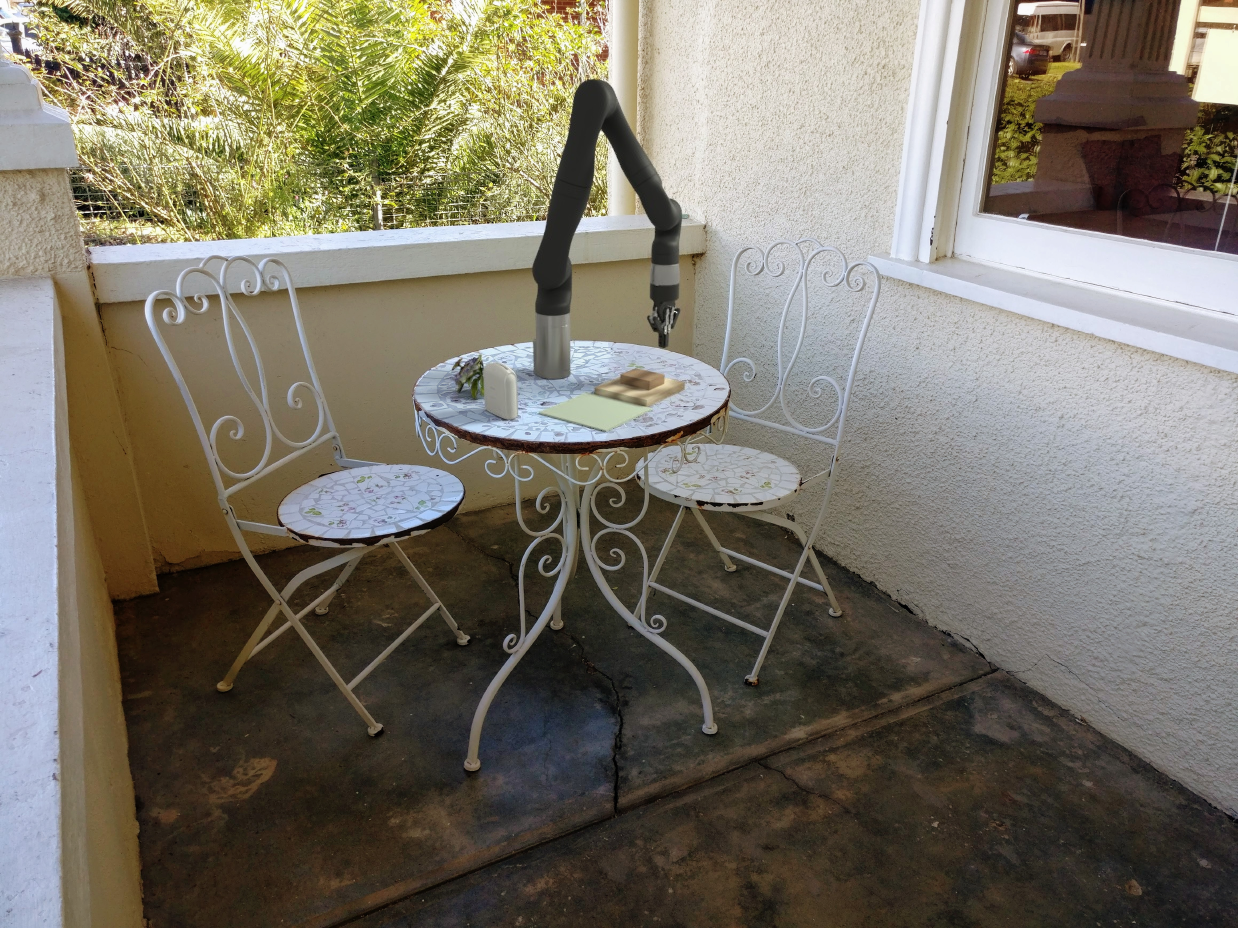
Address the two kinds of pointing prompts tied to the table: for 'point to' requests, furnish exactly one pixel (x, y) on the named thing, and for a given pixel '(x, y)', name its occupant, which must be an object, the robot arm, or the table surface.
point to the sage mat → (596, 411)
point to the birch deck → (639, 392)
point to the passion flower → (470, 375)
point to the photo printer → (500, 390)
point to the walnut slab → (642, 379)
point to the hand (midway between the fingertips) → (663, 347)
